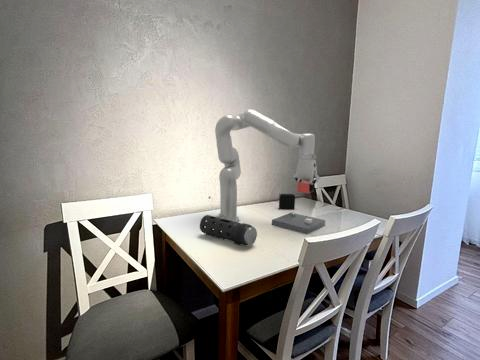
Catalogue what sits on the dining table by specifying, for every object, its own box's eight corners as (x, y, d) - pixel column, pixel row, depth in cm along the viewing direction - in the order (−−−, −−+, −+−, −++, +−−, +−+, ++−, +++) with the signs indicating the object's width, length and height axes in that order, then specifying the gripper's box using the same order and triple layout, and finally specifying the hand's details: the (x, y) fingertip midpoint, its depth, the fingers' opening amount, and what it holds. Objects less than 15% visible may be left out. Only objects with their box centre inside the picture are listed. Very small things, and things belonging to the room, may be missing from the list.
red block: (307, 193, 152) (308, 183, 151) (297, 191, 156) (297, 182, 155) (313, 191, 157) (313, 182, 156) (303, 190, 161) (303, 181, 160)
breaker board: (307, 234, 148) (307, 226, 147) (271, 224, 163) (272, 217, 162) (325, 225, 163) (325, 218, 162) (291, 217, 177) (291, 210, 177)
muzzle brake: (212, 232, 150) (212, 212, 148) (257, 245, 134) (258, 223, 132) (199, 237, 143) (199, 216, 141) (245, 251, 126) (245, 228, 124)
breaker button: (309, 227, 157) (309, 220, 156) (304, 226, 159) (304, 219, 158) (312, 226, 159) (312, 219, 158) (307, 225, 161) (307, 218, 160)
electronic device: (294, 209, 195) (295, 195, 193) (279, 209, 195) (280, 194, 193) (293, 208, 199) (294, 193, 197) (278, 207, 199) (279, 193, 197)
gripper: (325, 157, 150) (323, 191, 153) (296, 156, 162) (295, 187, 165) (318, 158, 145) (317, 194, 148) (288, 156, 156) (288, 189, 159)
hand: (305, 190), depth 156 cm, fingers closed on red block, 6 cm apart
